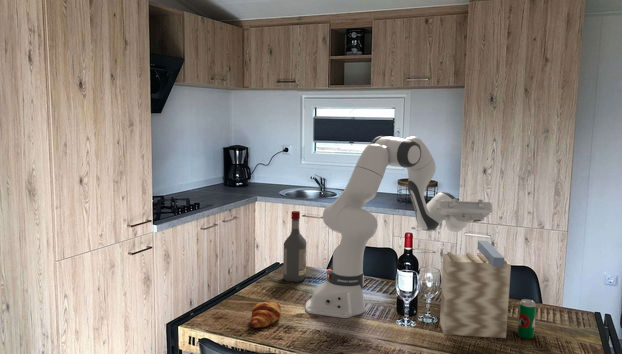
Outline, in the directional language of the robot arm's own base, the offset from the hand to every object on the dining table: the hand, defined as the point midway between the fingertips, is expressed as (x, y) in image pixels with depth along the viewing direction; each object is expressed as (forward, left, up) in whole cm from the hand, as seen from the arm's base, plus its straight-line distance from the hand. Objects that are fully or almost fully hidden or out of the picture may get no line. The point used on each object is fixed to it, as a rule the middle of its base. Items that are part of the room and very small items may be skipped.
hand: (468, 200), depth 191 cm
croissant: (-72, -28, -41) cm, 88 cm away
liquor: (-69, +19, -41) cm, 82 cm away
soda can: (+15, -28, -41) cm, 52 cm away
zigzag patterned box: (-2, -26, -40) cm, 48 cm away
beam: (+3, -24, -15) cm, 28 cm away
